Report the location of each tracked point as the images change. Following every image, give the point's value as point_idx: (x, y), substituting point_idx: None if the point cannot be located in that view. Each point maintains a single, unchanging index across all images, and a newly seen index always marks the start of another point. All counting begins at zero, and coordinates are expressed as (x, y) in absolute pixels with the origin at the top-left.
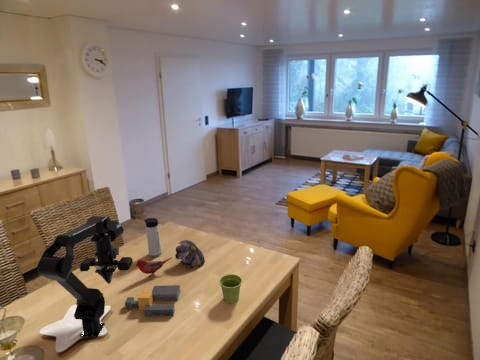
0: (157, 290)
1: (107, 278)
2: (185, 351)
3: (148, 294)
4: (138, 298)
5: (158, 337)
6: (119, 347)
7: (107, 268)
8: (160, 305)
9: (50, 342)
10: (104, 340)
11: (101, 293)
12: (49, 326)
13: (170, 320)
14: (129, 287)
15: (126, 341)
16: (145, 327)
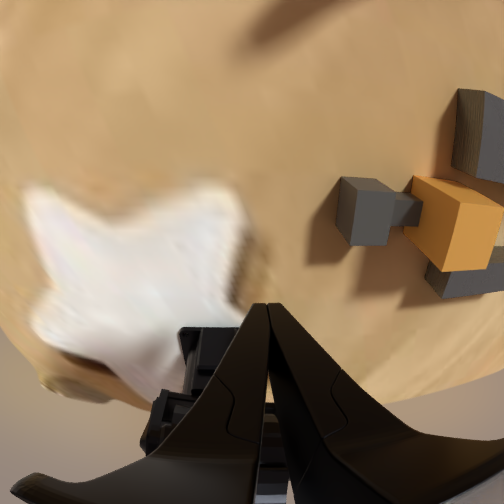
0: (500, 147)
1: (280, 427)
2: (478, 373)
3: (489, 242)
4: (442, 268)
5: (445, 354)
6: None
7: (256, 477)
8: (496, 268)
9: (108, 380)
10: None
11: (286, 488)
12: (44, 319)
13: None
14: (294, 3)
15: (361, 379)
16: (420, 328)
